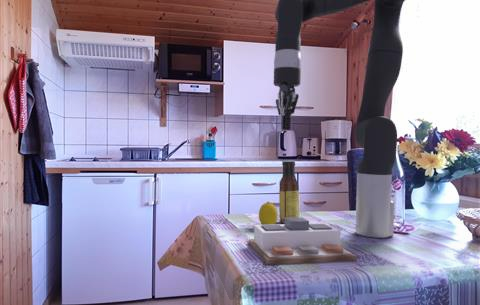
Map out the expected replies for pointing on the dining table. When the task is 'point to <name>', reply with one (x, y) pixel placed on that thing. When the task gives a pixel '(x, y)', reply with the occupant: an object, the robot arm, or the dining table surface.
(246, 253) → the dining table surface
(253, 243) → the switch base
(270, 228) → the button
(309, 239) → the switch housing
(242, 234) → the dining table surface
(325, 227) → the button
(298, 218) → the button
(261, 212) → the lemon
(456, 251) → the dining table surface
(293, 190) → the sauce bottle
